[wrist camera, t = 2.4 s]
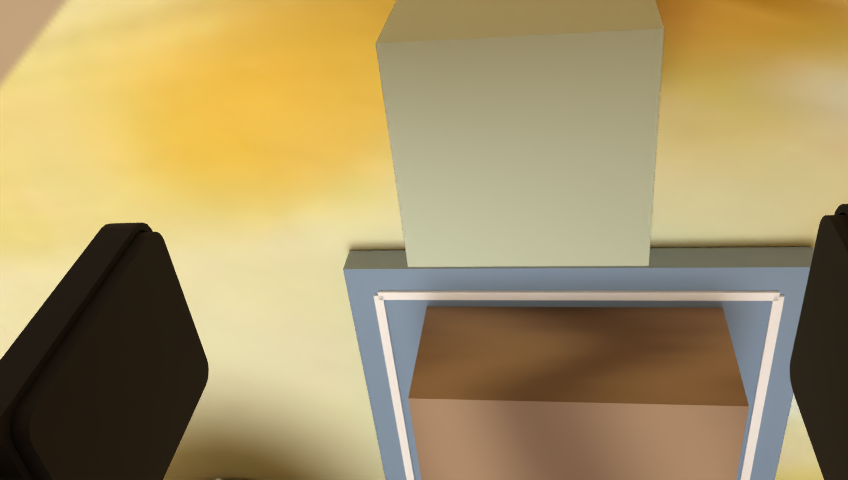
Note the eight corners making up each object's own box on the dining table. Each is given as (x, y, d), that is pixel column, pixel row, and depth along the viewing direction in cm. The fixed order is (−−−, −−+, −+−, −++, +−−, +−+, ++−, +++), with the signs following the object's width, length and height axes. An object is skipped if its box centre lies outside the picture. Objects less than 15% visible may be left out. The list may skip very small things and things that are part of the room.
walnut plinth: (723, 307, 24) (749, 406, 21) (696, 499, 29) (714, 602, 26) (426, 306, 26) (408, 398, 22) (450, 488, 31) (438, 584, 27)
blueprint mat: (811, 246, 24) (821, 269, 23) (758, 505, 30) (764, 530, 29) (349, 250, 26) (342, 271, 25) (396, 489, 33) (391, 512, 32)
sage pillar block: (632, -77, 19) (664, 27, 14) (624, 113, 22) (648, 265, 16) (426, -61, 20) (375, 43, 14) (444, 119, 23) (407, 267, 17)
